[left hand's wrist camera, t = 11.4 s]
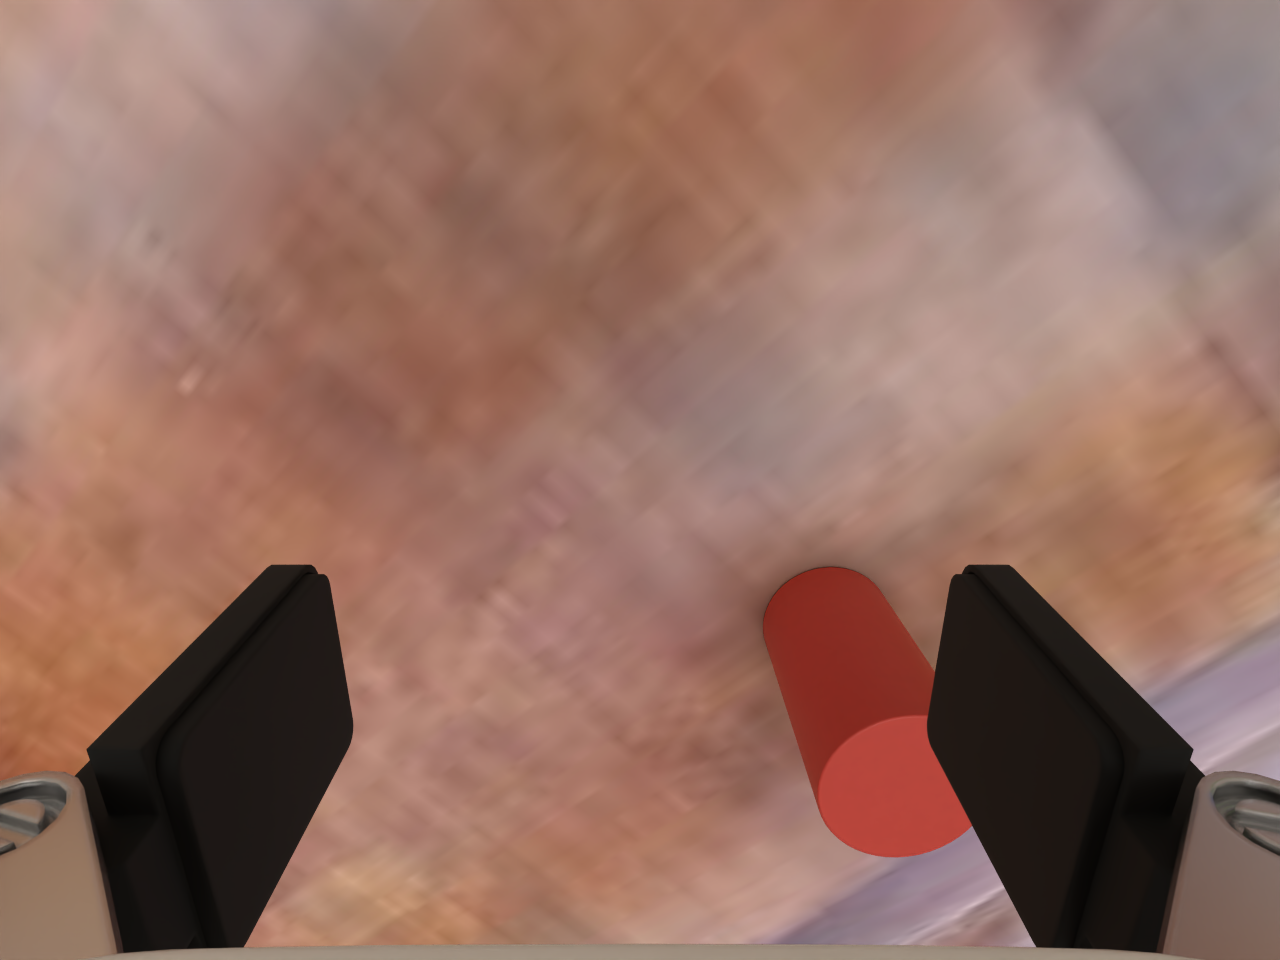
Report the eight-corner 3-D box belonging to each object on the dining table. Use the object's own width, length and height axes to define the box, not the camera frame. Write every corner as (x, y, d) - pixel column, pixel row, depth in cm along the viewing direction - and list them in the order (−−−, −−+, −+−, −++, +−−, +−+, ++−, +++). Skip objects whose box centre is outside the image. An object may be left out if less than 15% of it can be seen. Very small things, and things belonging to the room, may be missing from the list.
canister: (842, 542, 32) (935, 683, 22) (911, 631, 33) (1027, 799, 24) (737, 615, 33) (782, 779, 23) (809, 697, 34) (878, 884, 25)
